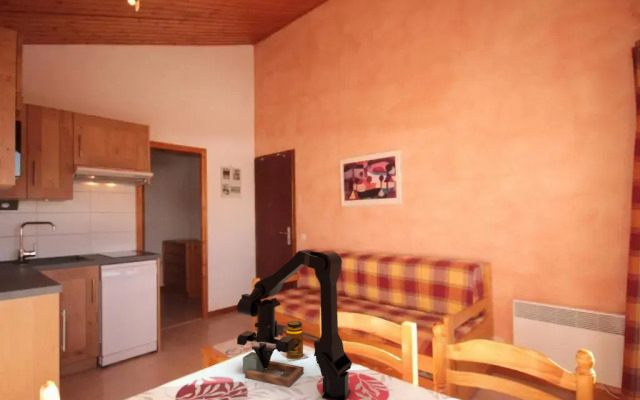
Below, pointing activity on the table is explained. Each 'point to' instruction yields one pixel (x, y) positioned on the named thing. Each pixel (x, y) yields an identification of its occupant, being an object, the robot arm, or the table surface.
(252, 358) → the block
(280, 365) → the channel
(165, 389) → the table surface
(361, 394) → the table surface
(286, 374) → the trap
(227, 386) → the table surface
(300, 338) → the condiment
